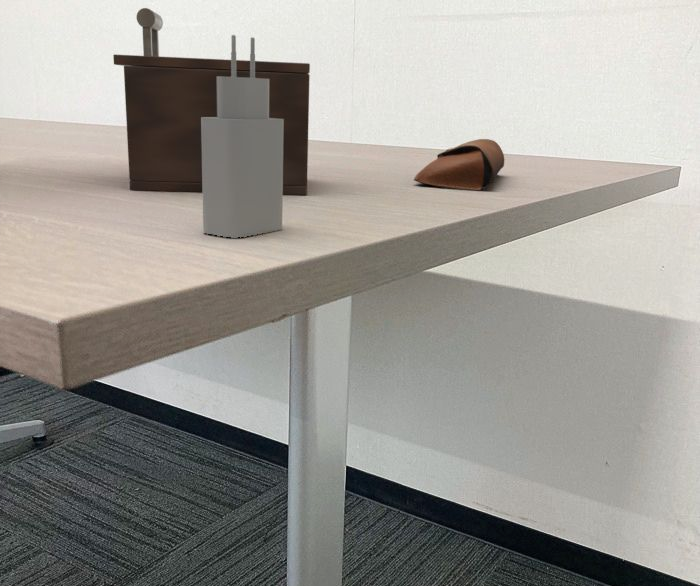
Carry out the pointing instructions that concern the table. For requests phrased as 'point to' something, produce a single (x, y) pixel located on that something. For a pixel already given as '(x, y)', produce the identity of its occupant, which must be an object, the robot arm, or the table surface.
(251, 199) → the power adapter
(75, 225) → the table surface
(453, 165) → the sunglasses case
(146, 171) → the chest
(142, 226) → the table surface
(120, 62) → the lid
